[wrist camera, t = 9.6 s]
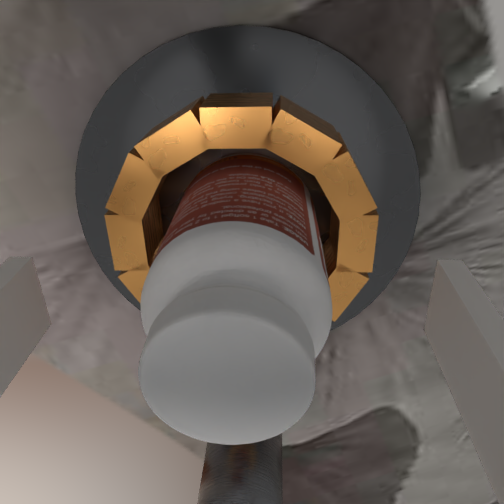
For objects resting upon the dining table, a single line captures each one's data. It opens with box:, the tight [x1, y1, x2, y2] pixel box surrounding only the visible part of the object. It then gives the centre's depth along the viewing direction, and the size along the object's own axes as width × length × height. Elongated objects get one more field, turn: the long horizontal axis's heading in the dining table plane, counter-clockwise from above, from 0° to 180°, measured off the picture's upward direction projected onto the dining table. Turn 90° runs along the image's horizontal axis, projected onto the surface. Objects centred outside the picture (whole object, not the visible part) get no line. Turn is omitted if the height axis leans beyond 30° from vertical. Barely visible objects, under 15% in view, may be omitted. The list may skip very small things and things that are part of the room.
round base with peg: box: [76, 25, 420, 504], centre depth 17 cm, size 20×16×14 cm
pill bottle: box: [138, 153, 332, 445], centre depth 17 cm, size 6×6×11 cm
